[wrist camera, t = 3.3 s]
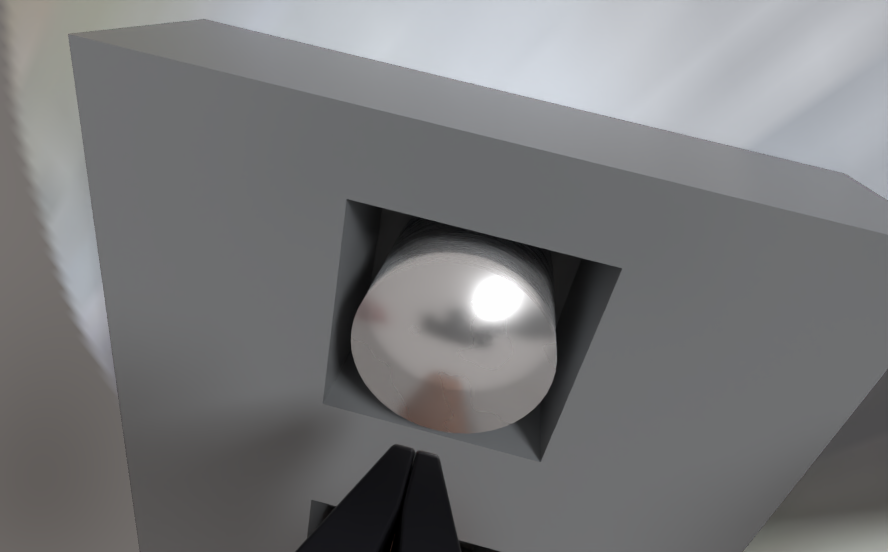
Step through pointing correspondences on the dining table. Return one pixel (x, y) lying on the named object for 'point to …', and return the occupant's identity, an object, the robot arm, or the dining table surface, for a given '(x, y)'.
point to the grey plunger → (458, 328)
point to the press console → (482, 210)
